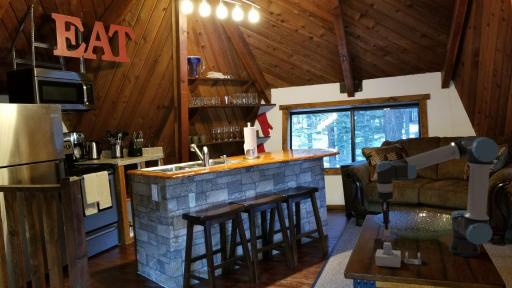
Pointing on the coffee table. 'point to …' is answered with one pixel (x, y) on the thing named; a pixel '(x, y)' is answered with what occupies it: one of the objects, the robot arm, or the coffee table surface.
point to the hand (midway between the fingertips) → (386, 235)
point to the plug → (387, 248)
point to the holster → (412, 261)
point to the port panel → (388, 258)
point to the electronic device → (379, 243)
